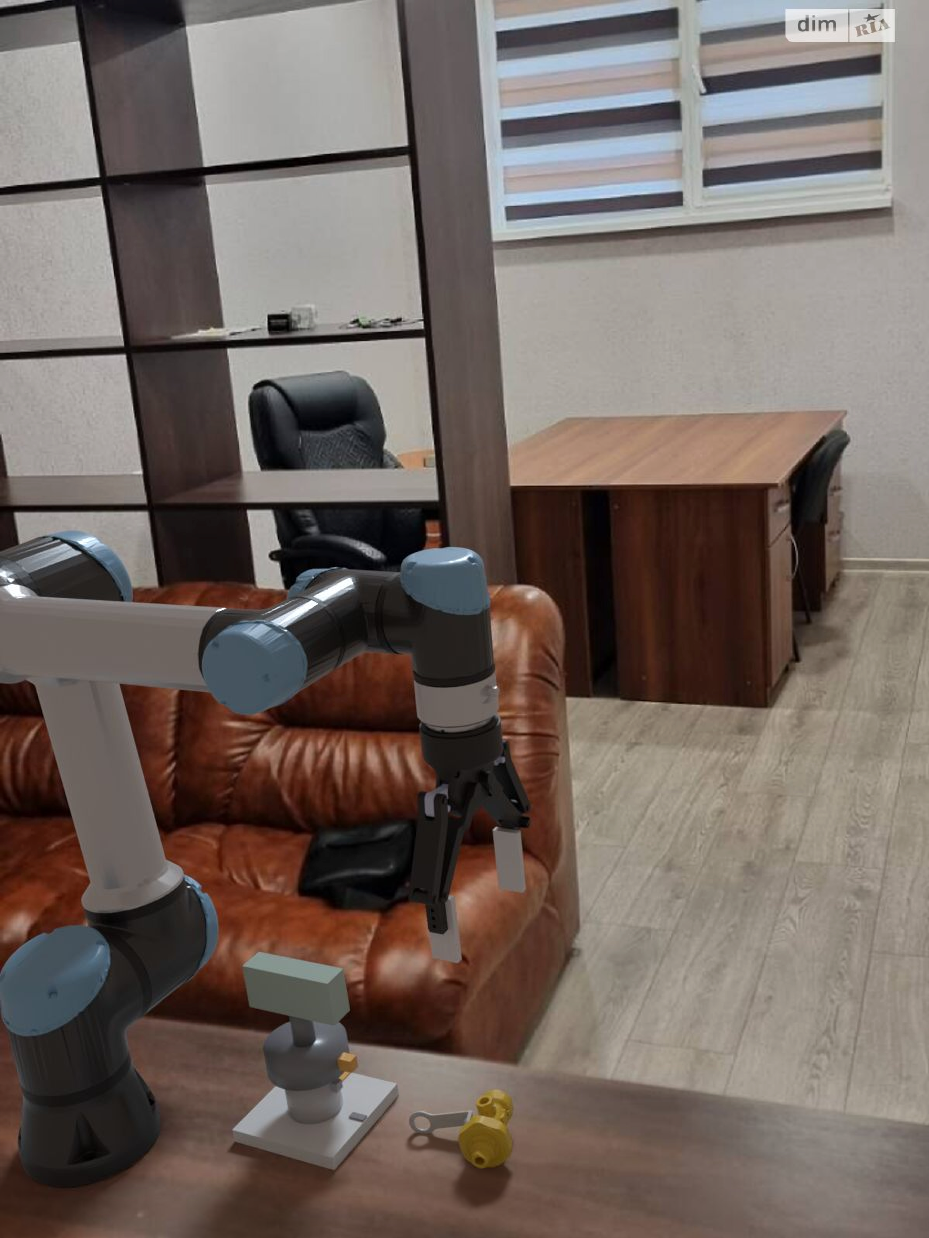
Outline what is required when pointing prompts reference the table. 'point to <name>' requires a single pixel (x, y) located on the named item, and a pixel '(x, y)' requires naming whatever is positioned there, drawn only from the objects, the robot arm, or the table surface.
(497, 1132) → the pressure relief valve
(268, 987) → the cap
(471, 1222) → the table surface
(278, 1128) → the base
